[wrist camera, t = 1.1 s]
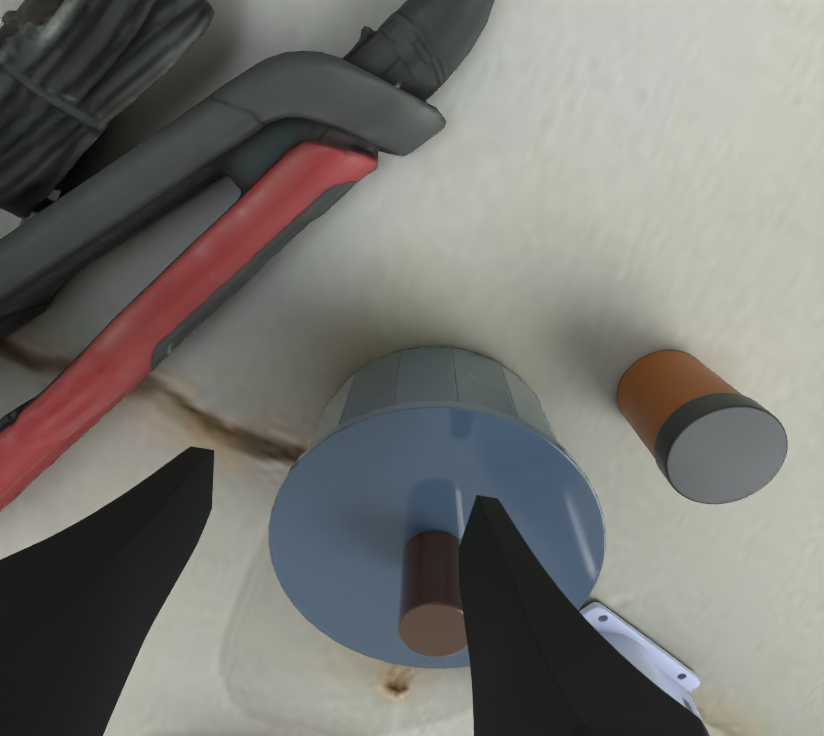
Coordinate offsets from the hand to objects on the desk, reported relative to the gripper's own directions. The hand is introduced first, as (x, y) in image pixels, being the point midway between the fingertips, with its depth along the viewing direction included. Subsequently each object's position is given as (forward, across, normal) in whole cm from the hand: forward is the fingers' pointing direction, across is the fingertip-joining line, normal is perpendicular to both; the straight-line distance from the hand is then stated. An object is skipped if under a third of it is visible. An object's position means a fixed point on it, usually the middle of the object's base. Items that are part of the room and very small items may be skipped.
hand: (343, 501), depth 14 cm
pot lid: (+3, -4, +4) cm, 7 cm away
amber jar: (+10, -13, -1) cm, 16 cm away
